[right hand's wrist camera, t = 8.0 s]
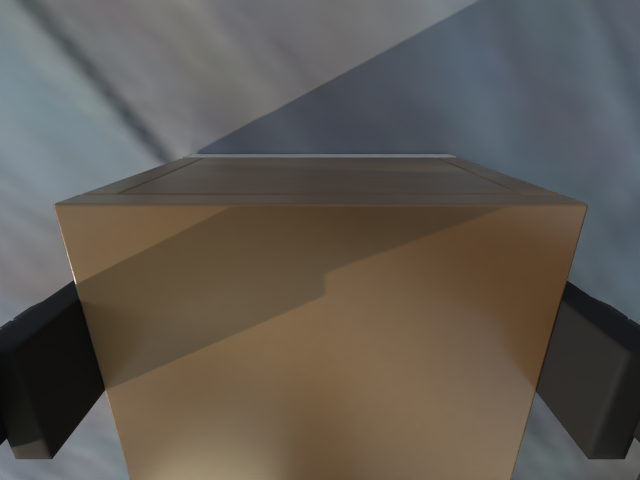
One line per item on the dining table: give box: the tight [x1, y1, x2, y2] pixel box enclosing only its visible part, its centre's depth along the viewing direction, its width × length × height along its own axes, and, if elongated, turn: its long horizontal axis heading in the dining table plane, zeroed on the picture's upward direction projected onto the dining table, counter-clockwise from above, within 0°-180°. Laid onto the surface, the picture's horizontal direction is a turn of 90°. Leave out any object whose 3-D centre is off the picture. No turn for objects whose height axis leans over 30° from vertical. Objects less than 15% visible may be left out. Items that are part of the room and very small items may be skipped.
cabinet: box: [54, 154, 588, 480], centre depth 15 cm, size 20×11×8 cm, turn 0°
